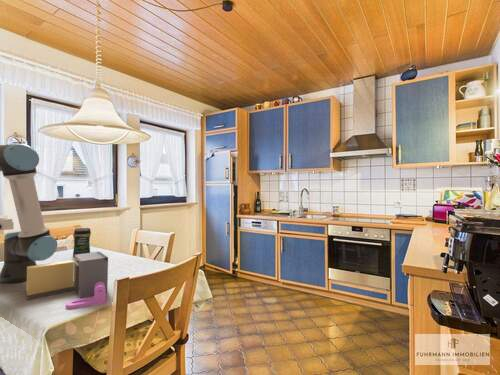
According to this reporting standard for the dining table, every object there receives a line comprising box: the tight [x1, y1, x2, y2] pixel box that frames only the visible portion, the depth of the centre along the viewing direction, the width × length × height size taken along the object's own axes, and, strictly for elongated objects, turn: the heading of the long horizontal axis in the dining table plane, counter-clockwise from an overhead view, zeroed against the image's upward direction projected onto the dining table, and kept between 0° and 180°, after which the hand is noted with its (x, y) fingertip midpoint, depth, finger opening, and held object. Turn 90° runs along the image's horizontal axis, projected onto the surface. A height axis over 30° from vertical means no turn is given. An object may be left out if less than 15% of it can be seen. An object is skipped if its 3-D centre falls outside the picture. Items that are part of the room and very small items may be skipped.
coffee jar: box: [72, 227, 92, 258], centre depth 175 cm, size 10×8×19 cm
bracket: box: [65, 282, 107, 310], centre depth 104 cm, size 13×6×7 cm, turn 121°
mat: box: [24, 283, 76, 301], centre depth 117 cm, size 12×18×1 cm, turn 133°
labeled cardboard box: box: [25, 259, 74, 297], centre depth 116 cm, size 4×16×11 cm, turn 133°
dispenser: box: [73, 251, 109, 299], centre depth 117 cm, size 14×11×15 cm
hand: (13, 223), depth 108 cm, fingers open, 13 cm apart
